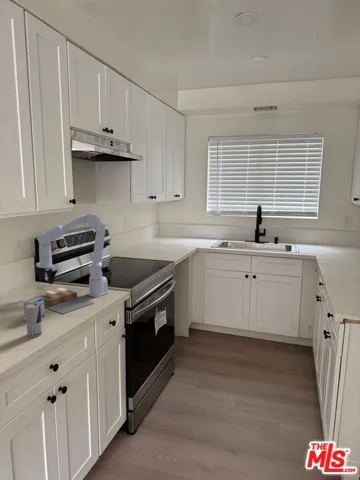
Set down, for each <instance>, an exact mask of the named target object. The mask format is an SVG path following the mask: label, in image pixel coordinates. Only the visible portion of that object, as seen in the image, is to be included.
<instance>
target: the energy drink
mask: <svg viewBox="0 0 360 480" xmlns="http://www.w3.org/2000/svg"><path fill="white" fill-rule="evenodd" d="M42 321H43V320H42V317H41V306H40V304H38V303H32V304H28V305H27V306H26V321H25V322H26V335H27V336H28V337H29V338H37V337H39V336H41V335H42V334H43V325H42Z"/></svg>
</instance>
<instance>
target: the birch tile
mask: <svg viewBox="0 0 360 480" xmlns="http://www.w3.org/2000/svg"><path fill="white" fill-rule="evenodd" d="M69 290H70V289H68V288H64V287H58V288H55V289H50V290H47V291H45V294H46V296H49V297H52V298H55V297H58V296H62V295H65V294H68V293H69Z"/></svg>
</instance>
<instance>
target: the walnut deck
mask: <svg viewBox="0 0 360 480" xmlns="http://www.w3.org/2000/svg"><path fill="white" fill-rule="evenodd" d="M68 290H69V293H68V294H65V295H62V296H58V297H55V298H52V297H49V296H46V293H44V294H42V295H38V296H36V297H43V298H44V307H46V308H48V307H51V306H54V305H57V304H60V303H64V302H67V301H70V300H73V299H76V298H78V291H74V290H72V289H68Z"/></svg>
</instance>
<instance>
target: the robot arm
mask: <svg viewBox="0 0 360 480" xmlns="http://www.w3.org/2000/svg"><path fill="white" fill-rule="evenodd" d="M80 225H81V226H82V225H83V226H86V225H88V226H90V227H91V228H93V230H94V231H95V238H94V239H95V240H94V247H93V256H92V262H91V265H90V267H89V275H90V276H89V277H88V281H89V283H88V284H89V285H88V286H89V292H87V293H85V294H86V295H87V296H90V297H93V298H98V297H101V296H103V295H104V296H105V295H107V294H109V293H110V292H109V285H108V279H107V278H106V277H105V276H103V271H102V265H103V263H102V262H103V253H104V247H105V246H104V244H105V236H106V227H105V226H104V224H103V222H102V220H101V218H100V217H99V216H98V215H97V214H96V213H95V212H93V211H90V212H87V213H84V214H82V215H80V216H78V217H76V218H74V219H72V220H70V221H69V222H66V223H65V224H63V225H59V224H56V225H54V226H53V227H52V228H50V229H49V230H48V229H46V230H45V231H44V232H42V233H40V234H39V236H38V239H37V242H38V246H39V247H38V252H39V253H38V255H39V262H36V264H35V266H36V267H35V268H34V270H35V271H36V274H37V275H38V278H39V281H40V282H44V281H45V279H46V275H47V281H48V284H49V285H53V284H54V281H55V278H56V275H57V273H58V269H57V266H56V265H54V264H53V257H52V256H53V255H52V246H51V242H52V241H53V242H54V241H55V240H57V239H59V238H61V237H64V236H65V234H66V232H68V231H69V230H71V229H73V228H75V227H77V226H80Z"/></svg>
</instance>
